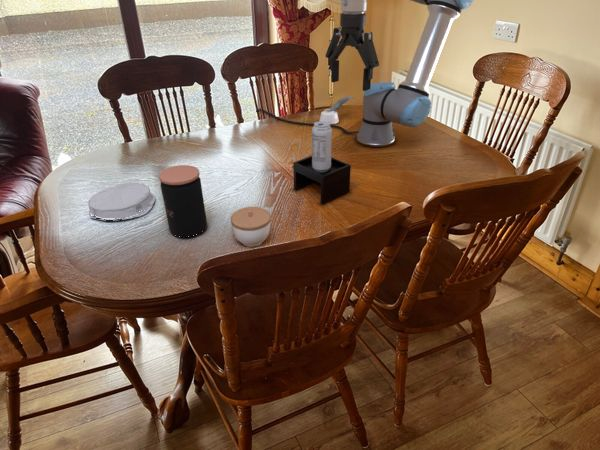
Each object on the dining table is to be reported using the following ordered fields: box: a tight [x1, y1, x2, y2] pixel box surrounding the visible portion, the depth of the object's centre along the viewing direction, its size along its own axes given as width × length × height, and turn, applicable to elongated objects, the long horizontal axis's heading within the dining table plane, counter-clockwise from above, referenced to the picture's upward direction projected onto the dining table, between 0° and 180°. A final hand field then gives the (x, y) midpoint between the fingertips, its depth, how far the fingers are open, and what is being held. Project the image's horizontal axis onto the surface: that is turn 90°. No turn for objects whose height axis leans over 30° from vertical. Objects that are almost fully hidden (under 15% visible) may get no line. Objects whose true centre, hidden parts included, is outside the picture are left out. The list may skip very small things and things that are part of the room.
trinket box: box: [230, 206, 272, 248], centre depth 122 cm, size 11×11×9 cm
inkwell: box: [318, 95, 355, 125], centre depth 205 cm, size 9×18×10 cm, turn 121°
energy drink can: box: [311, 120, 333, 172], centre depth 140 cm, size 6×6×15 cm
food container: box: [87, 182, 156, 221], centre depth 140 cm, size 20×20×7 cm
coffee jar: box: [158, 164, 208, 240], centre depth 125 cm, size 11×11×18 cm
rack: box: [292, 155, 352, 206], centre depth 146 cm, size 14×12×10 cm
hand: (350, 85), depth 143 cm, fingers open, 13 cm apart
